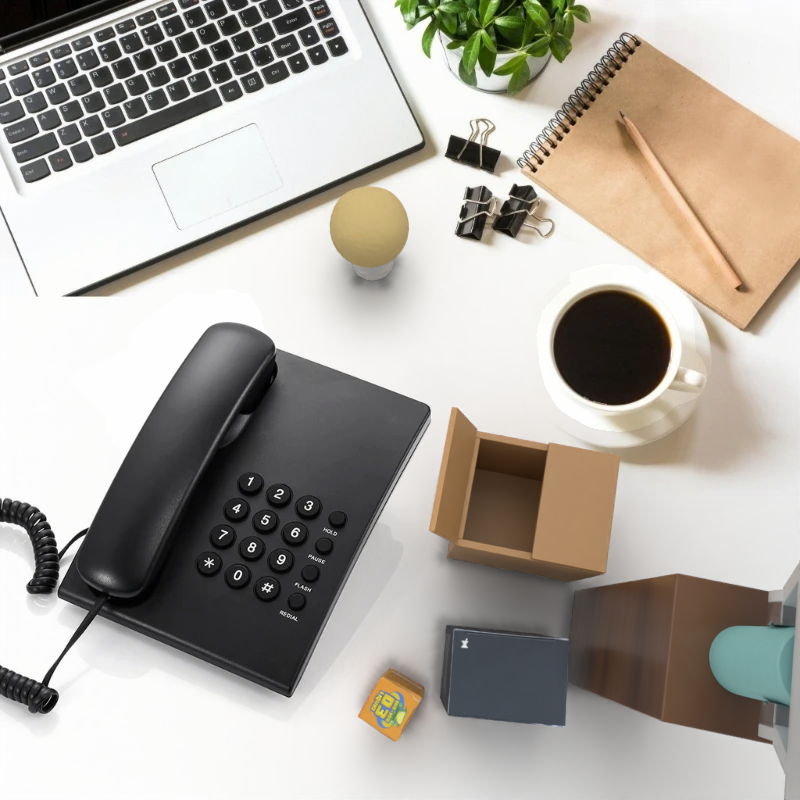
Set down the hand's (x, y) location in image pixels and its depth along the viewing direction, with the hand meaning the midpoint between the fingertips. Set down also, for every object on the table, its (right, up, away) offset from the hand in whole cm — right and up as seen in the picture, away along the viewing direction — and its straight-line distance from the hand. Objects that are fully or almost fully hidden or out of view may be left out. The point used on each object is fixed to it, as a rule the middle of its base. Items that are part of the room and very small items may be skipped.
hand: (780, 664), depth 35 cm
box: (-9, -9, +28) cm, 31 cm away
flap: (-13, +6, +17) cm, 22 cm away
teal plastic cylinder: (0, -1, +4) cm, 4 cm away
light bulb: (-19, +23, +37) cm, 48 cm away
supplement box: (-17, -11, +27) cm, 34 cm away
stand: (0, -8, +28) cm, 29 cm away
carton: (-7, +2, +31) cm, 31 cm away
